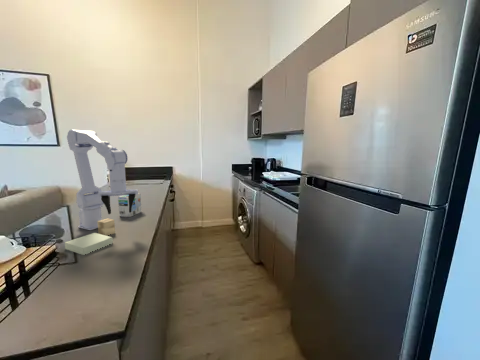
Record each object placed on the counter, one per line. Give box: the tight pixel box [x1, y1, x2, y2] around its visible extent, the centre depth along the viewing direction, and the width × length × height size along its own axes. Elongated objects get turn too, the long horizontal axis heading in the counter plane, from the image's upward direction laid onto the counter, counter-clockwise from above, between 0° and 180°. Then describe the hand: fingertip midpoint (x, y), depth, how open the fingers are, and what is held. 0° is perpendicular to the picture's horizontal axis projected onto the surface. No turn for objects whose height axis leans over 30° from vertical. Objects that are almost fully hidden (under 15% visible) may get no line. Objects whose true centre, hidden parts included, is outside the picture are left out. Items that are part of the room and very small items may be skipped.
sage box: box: [64, 232, 114, 256], centre depth 90 cm, size 11×11×3 cm
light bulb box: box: [117, 193, 142, 218], centre depth 131 cm, size 11×7×11 cm, turn 168°
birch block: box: [97, 217, 116, 236], centre depth 102 cm, size 4×4×6 cm
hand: (120, 212), depth 99 cm, fingers open, 7 cm apart
